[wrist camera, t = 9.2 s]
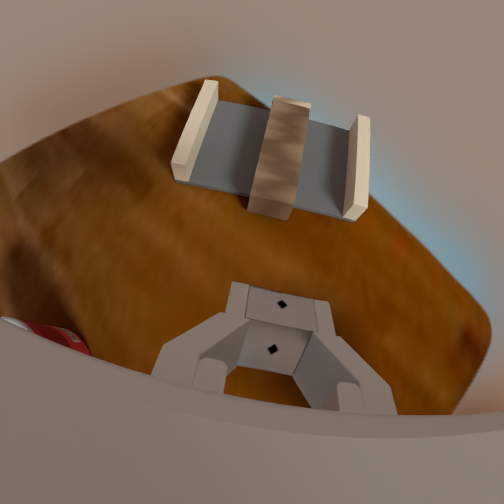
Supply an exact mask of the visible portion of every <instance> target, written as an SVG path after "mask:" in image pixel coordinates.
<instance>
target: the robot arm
mask: <svg viewBox="0 0 504 504" xmlns="http://www.w3.org/2000/svg"><path fill="white" fill-rule="evenodd" d="M237 365H238V366H244V367H249V368H255V369H261V370H267V371H271V372H276V373H281V374H286V375H291V376H292V377H293V379H294V381H295V382H296V384H297V386H298V387H299V389H300V390H301V392H302V394H303V395H304V397H305V398H306V400H307V402H308V403H309V405H310V406H311V408H304V407H297V406H290V405H283V404H276V403H270V402H264V401H258V400H253V399H247V398H242V397H237V396H232V395H227V394H223V391H224V385H225V379H226V376H227V375H228V374H229V373H230V372H232V371H233V370H234V369H235V368H236V367H237ZM0 504H504V411H503V412H491V413H479V414H461V415H397V411H396V407H395V404H394V400H393V396H392V392H391V389H390V386H389V385H388V384H387V383H386V382H385V381H384V380H383V379H382V378H381V377H380V376H379V375H378V374H377V373H376V372H375V371H374V370H373V369H372V368H371V367H370V366H369V365H368V364H367V363H366V362H365V361H364V360H363V359H362V358H361V357H360V356H359V355H358V354H357V353H356V352H355V351H354V350H353V349H352V348H351V347H350V346H349V345H348V344H347V343H346V342H345V341H344V340H343V339H342V338H341V337H340V336H336V333H335V328H334V323H333V319H332V314H331V309H330V304H329V303H328V302H327V301H322V300H316V299H309V298H304V297H299V296H294V295H288V294H283V293H281V292H277V291H273V290H268V289H264V288H260V287H256V286H252V285H249V284H244V283H240V282H235V281H233V282H232V284H231V289H230V293H229V297H228V302H227V306H226V310H225V313H222V312H220V313H218V314H216V315H214V316H213V317H211V318H209V319H208V320H206V321H204V322H202V323H201V324H199V325H197V326H196V327H194V328H192V329H190V330H189V331H187V332H185V333H183V334H182V335H180V336H178V337H176V338H175V339H173V340H171V341H169V342H168V343H166V344H164V345H163V346H162V349H161V351H160V354H159V356H158V358H157V361H156V363H155V366H154V368H153V371H152V373H151V376H150V375H147V374H144V373H140V372H137V371H134V370H131V369H127V368H124V367H121V366H118V365H115V364H112V363H109V362H106V361H103V360H100V359H97V358H95V357H92V356H89V355H86V354H84V353H81V352H78V351H76V350H73V349H70V348H68V347H65V346H63V345H60V344H58V343H55V342H53V341H51V340H48V339H46V338H43V337H41V336H39V335H36V334H34V333H32V332H30V331H27V330H25V329H23V328H21V327H19V326H17V325H14V324H12V323H10V322H8V321H6V320H4V319H2V318H0Z"/></svg>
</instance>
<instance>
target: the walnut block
mask: <svg viewBox="0 0 504 504" xmlns="http://www.w3.org/2000/svg"><path fill="white" fill-rule="evenodd" d="M310 108H311V104H310V103H306V102H302V101H298V100H294V99H290V98H285V97H281V96H276V95H274V97H273V102H272V107H271V111H270V115H269V119H268V123H267V127H266V131H265V135H264V139H263V143H262V147H261V152H260V156H259V160H258V164H257V168H256V172H255V176H254V180H253V184H252V189H251V193H250V198H249V203H248V209H247V212H251V213H256V214H260V215H265V216H269V217H273V218H278V219H282V220H286V221H287V219H288V217H289V215H290V213H291V211H292V209H293V207H294V204H295V198H296V192H297V186H298V180H299V174H300V168H301V162H302V156H303V150H304V144H305V137H306V131H307V124H308V118H309V111H310Z"/></svg>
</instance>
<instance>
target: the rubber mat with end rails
mask: <svg viewBox="0 0 504 504" xmlns="http://www.w3.org/2000/svg"><path fill="white" fill-rule="evenodd" d="M270 111H271V110H266V109H262V108H257V107H252V106H247V105H242V104H236V103H231V102H225V101H219V100H218V81H212V80H205V82H204V84H203V86H202V89H201V91H200V93H199V95H198V97H197V100H196V102H195V104H194V107H193V109H192V111H191V113H190V116H189V118H188V121H187V123H186V125H185V128H184V130H183V133H182V135H181V137H180V140H179V142H178V145H177V147H176V150H175V152H174V155H173V158H172V160H171V166H172V170H173V174H174V178H175V182H179V183H184V184H189V185H194V186H199V187H204V188H209V189H213V190H218V191H223V192H228V193H232V194H237V195H241V196H246V197H250V193H251V189H252V184H253V180H254V176H255V172H256V168H257V164H258V160H259V156H260V152H261V147H262V143H263V139H264V135H265V131H266V127H267V123H268V119H269V115H270ZM369 163H370V118H368V117H365V116H362V115H358V116H357V118H356V119H355V121H354V123H353V125H352V127H351V129H350V131H348V130H344V129H341V128H338V127H334V126H331V125H327V124H324V123H320V122H316V121H312V120H309V119H308V124H307V131H306V137H305V144H304V150H303V156H302V162H301V168H300V174H299V180H298V186H297V192H296V198H295V204H294V208H298V209H302V210H306V211H310V212H314V213H318V214H322V215H326V216H330V217H334V218H338V219H342V220H346V221H350V222H353V223H354V222H355V221H356V220H357V218H358V217H359V216H360V215H361V214H362V213H363V212H364V211H365V210H366V209H367V208H368V192H369V166H370V164H369Z"/></svg>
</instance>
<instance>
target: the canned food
mask: <svg viewBox="0 0 504 504" xmlns="http://www.w3.org/2000/svg"><path fill="white" fill-rule="evenodd" d="M0 318H2V319H4V320H6V321H8V322H10V323H12V324H14V325H17V326H19V327H21V328H23V329H25V330H27V331H30V332H32V333H34V334H36V335H39V336H41V337H43V338H46V339H48V340H51V341H53V342H55V343H58V344H60V345H63V346H65V347H68V348H70V349H73V350H76V351H78V352H81V353H84V354H86V355H89V356H91V354H90V352H89V350H88V348H87V346H86V345H85V343H84V342H83V341H82V340H81V339H80V338H79V337H78V336H77V335H76V334H75V333H73V332H71V331H70V330H68V329H64V328H60V327H55V326H50V325H45V324H41V323H36V322H31V321H27V320H23V319H17V318H13V317H0Z"/></svg>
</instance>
